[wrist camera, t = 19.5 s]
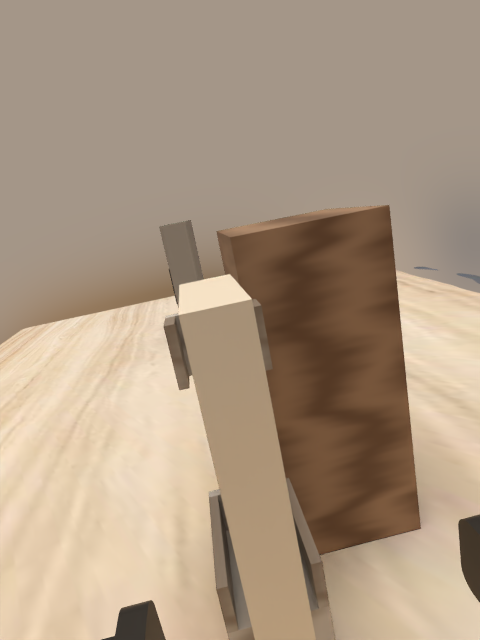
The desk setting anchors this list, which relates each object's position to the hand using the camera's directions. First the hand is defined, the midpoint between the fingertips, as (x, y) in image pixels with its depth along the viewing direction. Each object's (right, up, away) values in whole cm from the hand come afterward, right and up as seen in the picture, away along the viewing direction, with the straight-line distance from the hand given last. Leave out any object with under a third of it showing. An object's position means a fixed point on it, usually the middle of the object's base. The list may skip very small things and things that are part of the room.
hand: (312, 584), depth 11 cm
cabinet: (+4, -10, +23) cm, 25 cm away
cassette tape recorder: (-11, +3, +84) cm, 85 cm away
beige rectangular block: (0, -9, +15) cm, 17 cm away
